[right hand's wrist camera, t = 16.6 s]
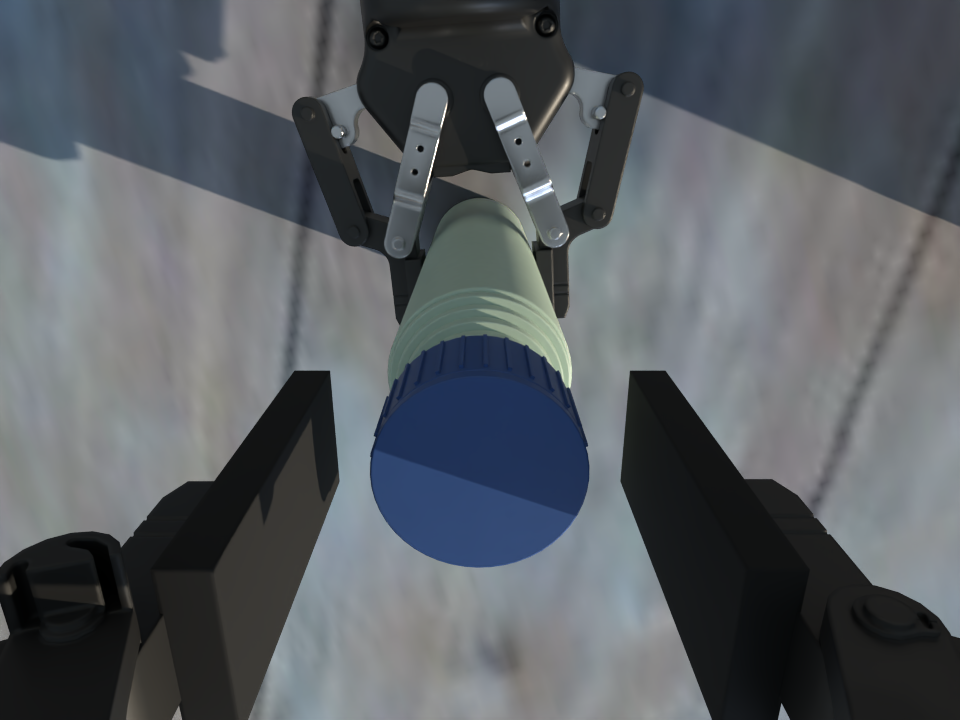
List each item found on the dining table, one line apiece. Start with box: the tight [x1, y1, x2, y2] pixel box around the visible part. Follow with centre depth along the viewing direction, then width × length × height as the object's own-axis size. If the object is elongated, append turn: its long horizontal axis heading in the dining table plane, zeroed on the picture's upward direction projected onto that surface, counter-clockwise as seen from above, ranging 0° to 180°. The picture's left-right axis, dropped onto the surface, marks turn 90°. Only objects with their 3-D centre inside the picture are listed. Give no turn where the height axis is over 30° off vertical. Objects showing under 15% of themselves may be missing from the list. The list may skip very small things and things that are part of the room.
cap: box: [370, 334, 589, 568], centre depth 13 cm, size 4×4×2 cm
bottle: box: [388, 198, 572, 391], centre depth 24 cm, size 5×5×23 cm
